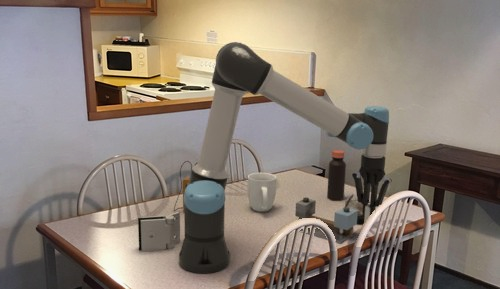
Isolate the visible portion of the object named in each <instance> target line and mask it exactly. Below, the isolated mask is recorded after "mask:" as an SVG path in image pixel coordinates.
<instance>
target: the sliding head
mask: <svg viewBox="0 0 500 289" xmlns="http://www.w3.org/2000/svg"><path fill="white" fill-rule="evenodd" d="M357 214H358V210H354V209H350V208H349V207H345V206H344V207H342V208H340V209H338V210H337V211H335V212H334V219H333V220H334V227H338V228H340V233H341V234H343V229H345V230H348V229H350V228H352V227H353V228H354V227H355V226H356V225H358V224H357Z"/></svg>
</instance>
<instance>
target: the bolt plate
mask: <svg viewBox="0 0 500 289" xmlns="http://www.w3.org/2000/svg"><path fill="white" fill-rule="evenodd" d="M331 230H332V229H331ZM300 231H303V229H301V230H300ZM300 231H299V232H300ZM332 232H333V234H334V236H335V239H336V242H337V243H336V242H335V243H336V244H339V243H341V244H342V243H344V242H345V241H347V240H348V239H349V238H351V237H350V235H349V234H345V233H343V234H341V233H340V232H339V231H335V230H332ZM309 233H310V228H308V235H310V234H309ZM314 236H315V237H316V238H320V239H324V240H326V241H328V240H327V238H326V236H325V234H324V233H323V232H322V231H321V230H320V229H318V228H316V229H315V233H314Z"/></svg>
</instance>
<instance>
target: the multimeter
mask: <svg viewBox="0 0 500 289" xmlns="http://www.w3.org/2000/svg"><path fill="white" fill-rule="evenodd" d="M185 163H189V164H190V166H191V168H190V170H191V171H192V167H193V165H192V163H191V162H190V161H189V160H186V161H184V162H183V163H182V164H181V165H180V170H179V177H180V179H182V172H181V171H182V167H183V166H184V164H185ZM197 164H198V162H196V163H195V164H194V166H195V165H197ZM189 180H190V177H184V178H183V179H182V180H180V183H181V184H180V185H181V187H180V190H179V193H178V196H177V199H176V201H175V203H174V204H175V205H174V207H173V212H176V211H178V210H179V209H182V212H183V213H184V194H185V189H186V187H187V185H188V182H189ZM181 191H182V207H181V206H180V207H177V208H176V205H177V203H178V200H179V198H180V195H181Z"/></svg>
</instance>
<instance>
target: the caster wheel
mask: <svg viewBox="0 0 500 289" xmlns="http://www.w3.org/2000/svg"><path fill="white" fill-rule="evenodd" d="M344 207H349V208H350V209H354V210H358V214H357V224H356V225H364V224H363V223H364V218H365V214H363V213H362V212H363V204H362V203H360V202H358V200H357V197H356V198H355V197H354V194H352V195H351V196H349V198H348V199H347V200H346V201H345V205H344Z"/></svg>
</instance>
